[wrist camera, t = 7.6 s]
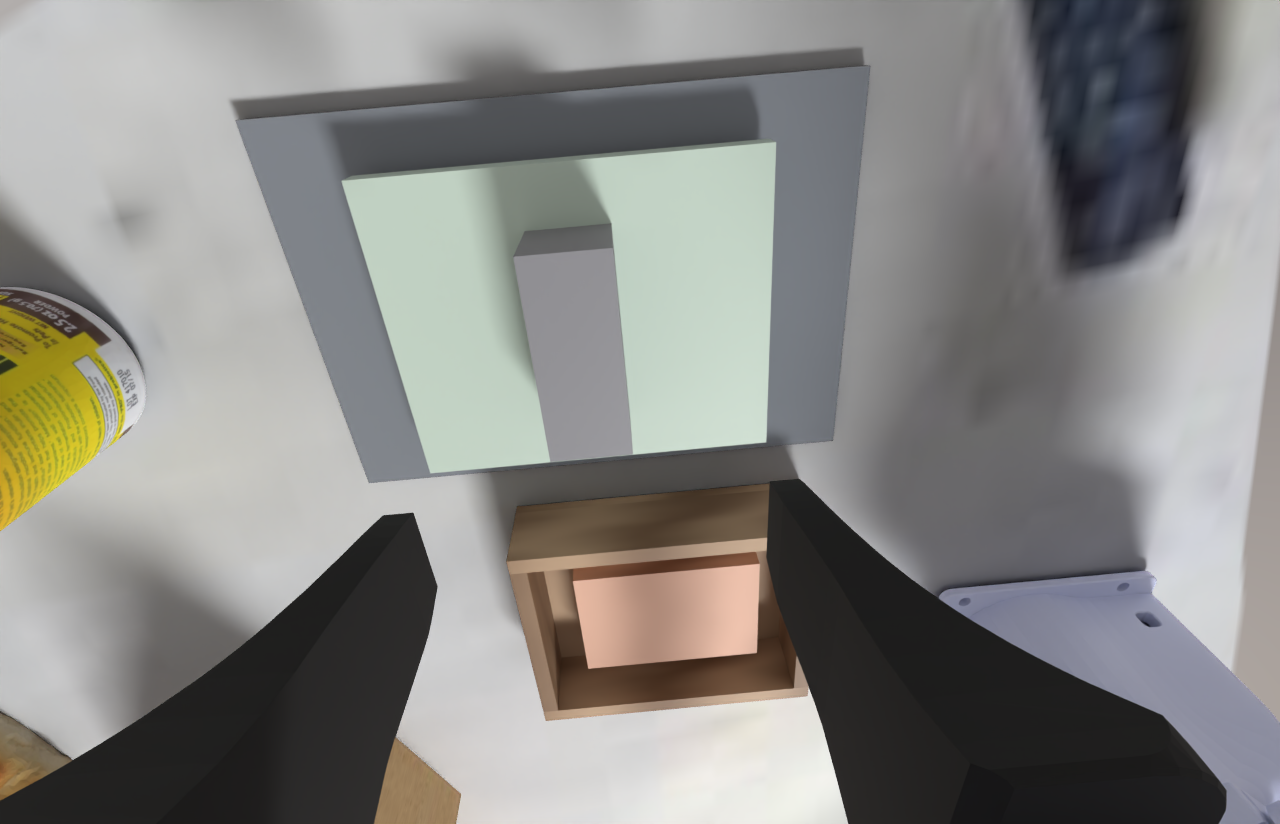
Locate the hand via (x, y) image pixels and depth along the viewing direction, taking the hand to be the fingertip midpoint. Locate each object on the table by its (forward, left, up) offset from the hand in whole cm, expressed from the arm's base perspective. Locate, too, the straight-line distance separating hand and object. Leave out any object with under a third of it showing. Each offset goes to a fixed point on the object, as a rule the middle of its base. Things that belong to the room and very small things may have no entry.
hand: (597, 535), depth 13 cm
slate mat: (0, -2, -9) cm, 9 cm away
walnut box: (-2, +11, -9) cm, 14 cm away
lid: (0, -1, -9) cm, 9 cm away
